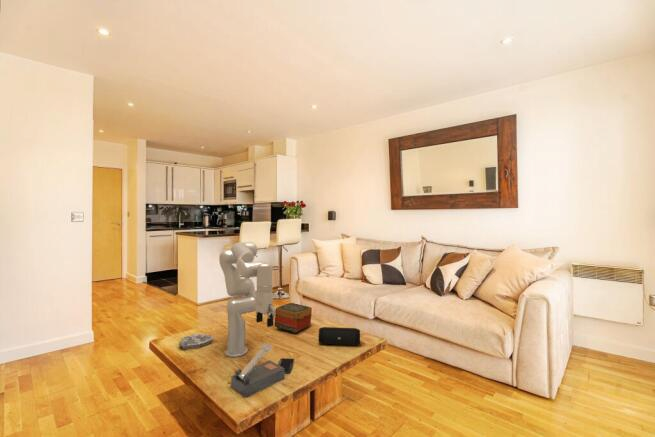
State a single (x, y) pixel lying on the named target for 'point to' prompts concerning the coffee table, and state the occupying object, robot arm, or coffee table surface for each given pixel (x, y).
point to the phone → (286, 364)
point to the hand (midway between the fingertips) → (264, 324)
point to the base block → (257, 378)
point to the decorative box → (292, 317)
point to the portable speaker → (339, 336)
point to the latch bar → (255, 360)
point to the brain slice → (195, 341)
